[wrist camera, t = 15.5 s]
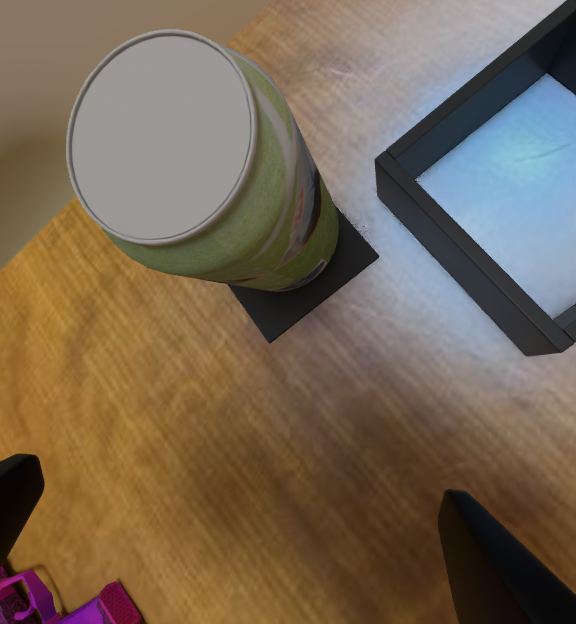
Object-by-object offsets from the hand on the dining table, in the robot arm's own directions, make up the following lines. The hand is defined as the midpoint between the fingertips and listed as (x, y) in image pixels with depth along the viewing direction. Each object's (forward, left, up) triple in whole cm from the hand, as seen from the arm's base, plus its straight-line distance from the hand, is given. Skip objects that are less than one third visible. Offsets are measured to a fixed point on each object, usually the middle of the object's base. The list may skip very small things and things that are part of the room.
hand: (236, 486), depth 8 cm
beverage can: (+8, -4, -10) cm, 14 cm away
